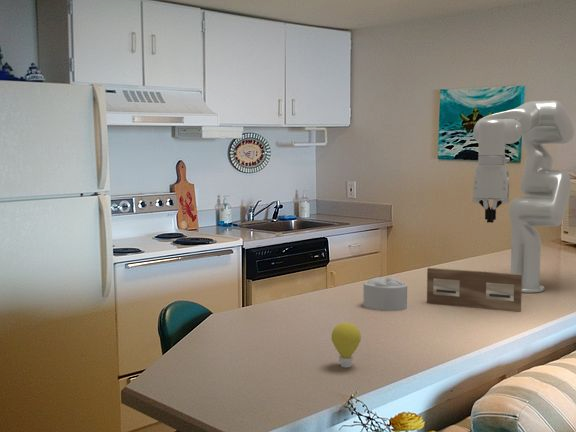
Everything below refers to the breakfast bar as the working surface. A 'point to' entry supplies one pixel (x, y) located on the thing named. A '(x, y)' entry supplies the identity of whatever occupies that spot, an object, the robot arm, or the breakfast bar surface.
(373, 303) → the lumpy-topped squat cylinder
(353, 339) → the light bulb
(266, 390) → the breakfast bar surface
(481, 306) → the wooden panel
